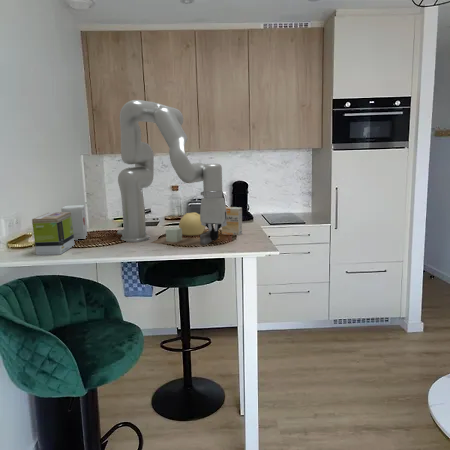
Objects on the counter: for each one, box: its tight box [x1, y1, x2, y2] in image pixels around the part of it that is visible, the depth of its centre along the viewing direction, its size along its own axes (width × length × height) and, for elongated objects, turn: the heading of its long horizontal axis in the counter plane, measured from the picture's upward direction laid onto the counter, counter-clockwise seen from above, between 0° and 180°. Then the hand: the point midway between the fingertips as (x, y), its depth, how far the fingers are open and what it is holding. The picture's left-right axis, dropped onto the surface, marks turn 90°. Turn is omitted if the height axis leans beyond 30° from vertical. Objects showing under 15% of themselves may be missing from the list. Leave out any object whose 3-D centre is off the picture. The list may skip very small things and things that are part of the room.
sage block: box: [165, 227, 183, 242], centre depth 179 cm, size 5×5×5 cm
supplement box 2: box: [221, 206, 243, 236], centre depth 190 cm, size 8×5×13 cm, turn 68°
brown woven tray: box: [150, 230, 213, 247], centre depth 178 cm, size 24×12×5 cm, turn 70°
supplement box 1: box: [60, 204, 88, 241], centre depth 193 cm, size 9×9×15 cm
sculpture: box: [178, 212, 207, 237], centre depth 193 cm, size 12×12×11 cm
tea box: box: [31, 211, 76, 256], centre depth 171 cm, size 15×10×15 cm, turn 178°
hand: (214, 239), depth 173 cm, fingers closed
